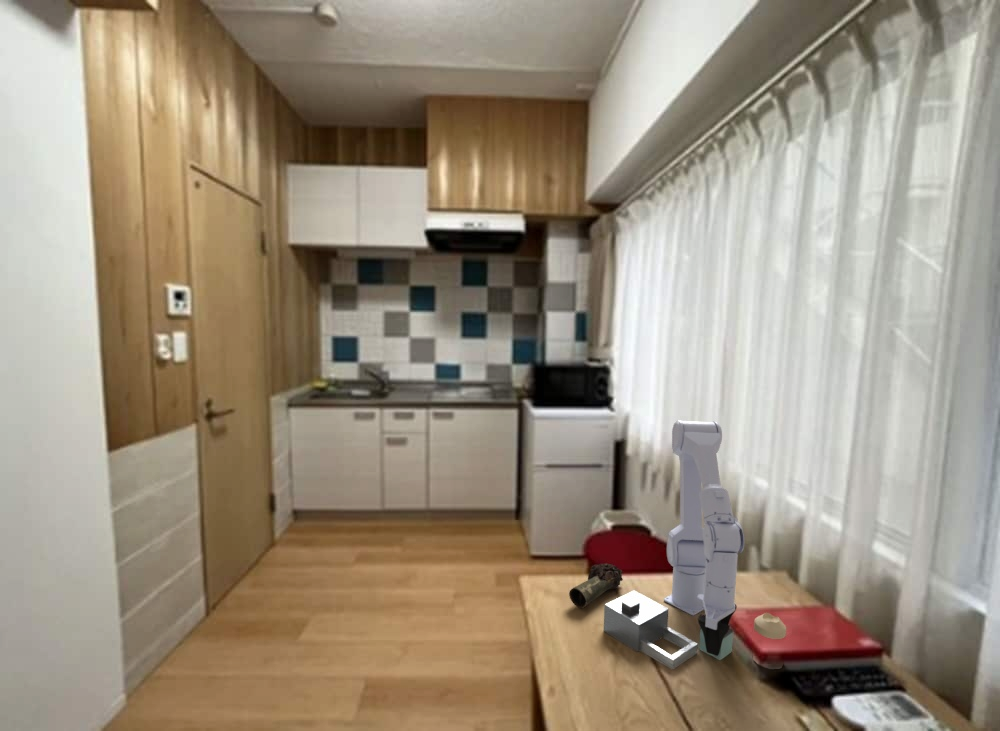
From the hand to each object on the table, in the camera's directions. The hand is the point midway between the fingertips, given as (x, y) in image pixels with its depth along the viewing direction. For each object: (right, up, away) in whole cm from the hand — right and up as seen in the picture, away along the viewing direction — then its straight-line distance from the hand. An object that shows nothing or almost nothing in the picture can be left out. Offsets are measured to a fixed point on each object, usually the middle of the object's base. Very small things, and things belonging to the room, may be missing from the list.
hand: (715, 645), depth 103 cm
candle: (+9, -3, -3) cm, 10 cm away
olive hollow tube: (-24, -2, +17) cm, 30 cm away
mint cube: (0, -1, 0) cm, 1 cm away
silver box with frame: (-11, -1, +4) cm, 12 cm away
